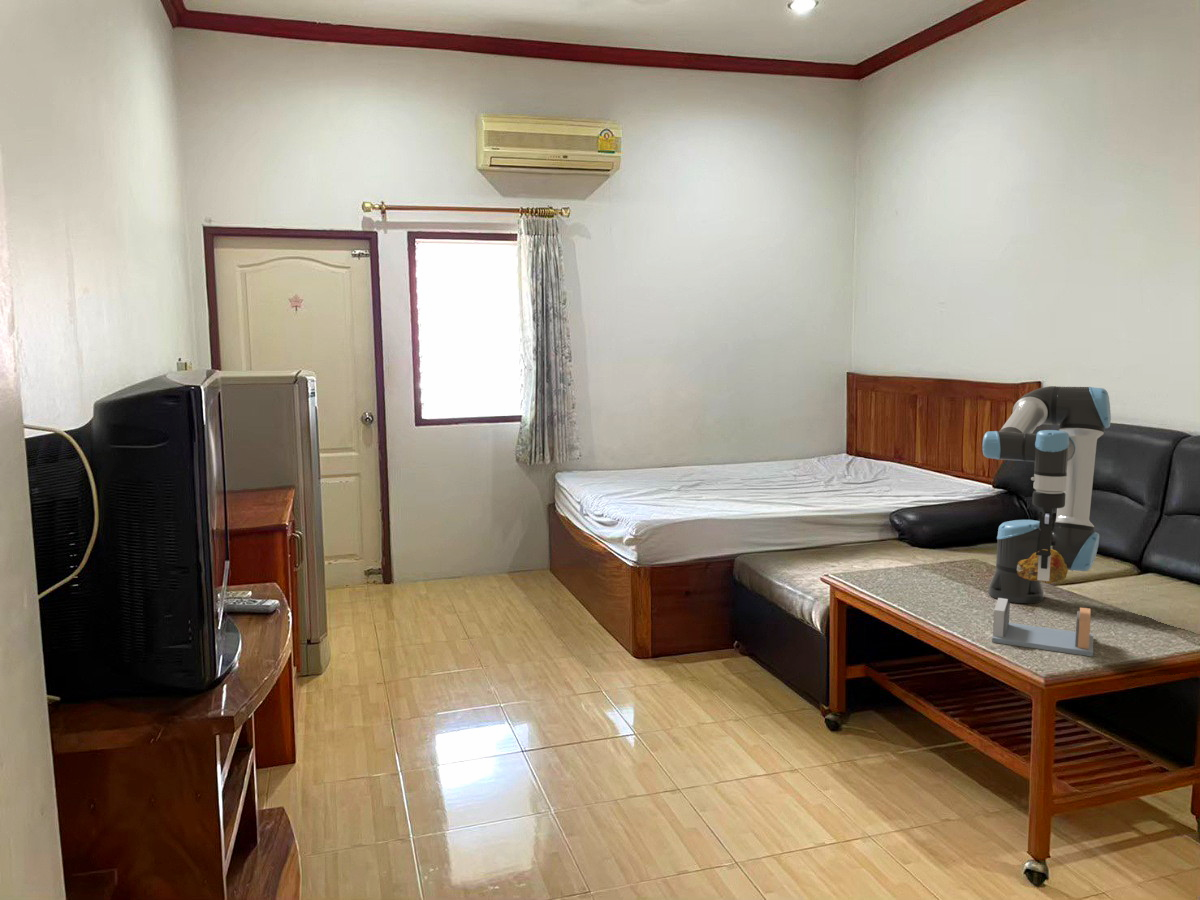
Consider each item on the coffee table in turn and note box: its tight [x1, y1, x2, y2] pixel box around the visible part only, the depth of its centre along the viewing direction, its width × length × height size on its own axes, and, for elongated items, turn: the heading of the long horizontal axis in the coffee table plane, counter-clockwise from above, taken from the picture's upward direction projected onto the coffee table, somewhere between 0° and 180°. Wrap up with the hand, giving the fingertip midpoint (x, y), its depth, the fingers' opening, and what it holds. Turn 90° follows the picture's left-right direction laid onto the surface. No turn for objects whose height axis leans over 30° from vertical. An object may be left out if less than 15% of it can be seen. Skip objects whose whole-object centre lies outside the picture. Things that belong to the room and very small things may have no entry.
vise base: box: [991, 598, 1094, 657], centre depth 233 cm, size 15×23×8 cm, turn 62°
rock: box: [1017, 549, 1069, 584], centre depth 233 cm, size 11×8×10 cm
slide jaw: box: [1075, 607, 1091, 649], centre depth 229 cm, size 12×3×7 cm, turn 152°
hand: (1044, 575), depth 232 cm, fingers closed on rock, 11 cm apart
